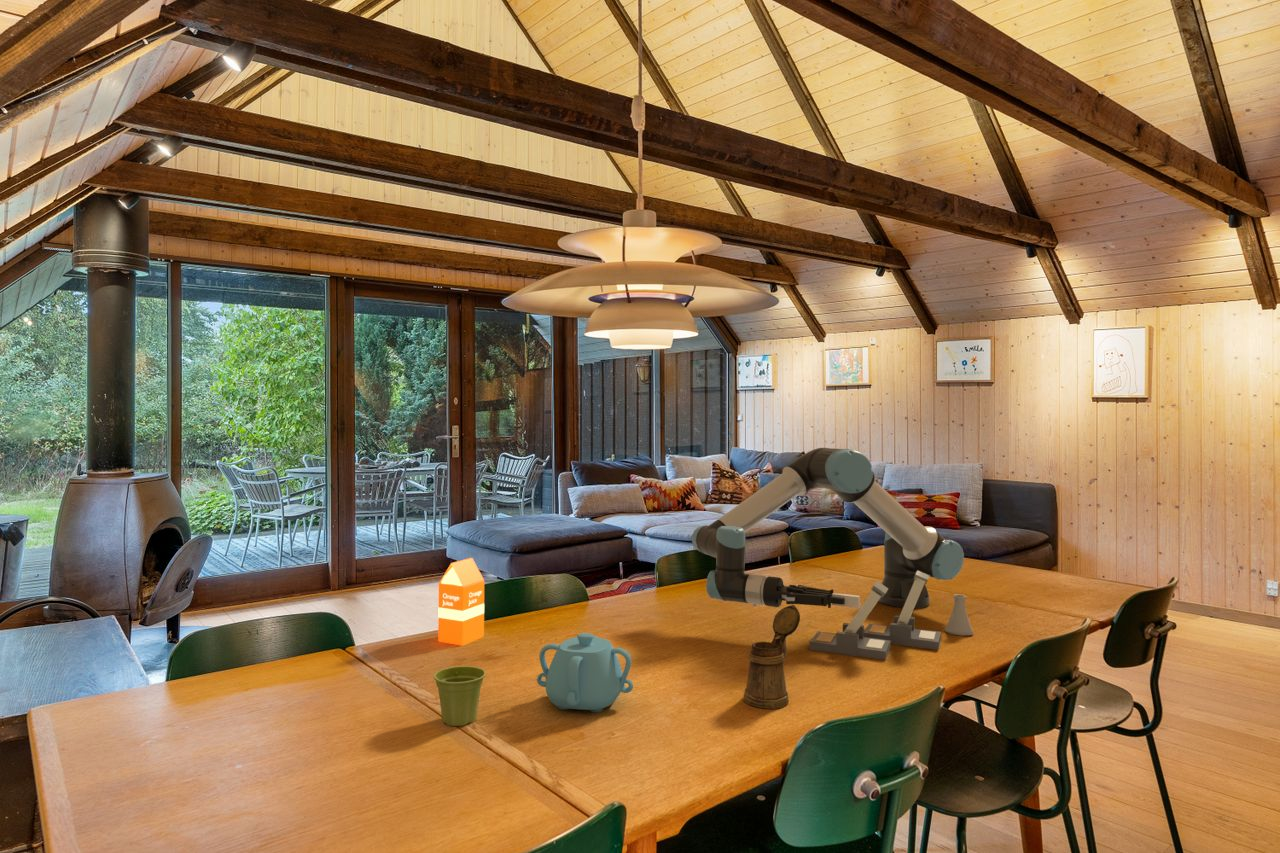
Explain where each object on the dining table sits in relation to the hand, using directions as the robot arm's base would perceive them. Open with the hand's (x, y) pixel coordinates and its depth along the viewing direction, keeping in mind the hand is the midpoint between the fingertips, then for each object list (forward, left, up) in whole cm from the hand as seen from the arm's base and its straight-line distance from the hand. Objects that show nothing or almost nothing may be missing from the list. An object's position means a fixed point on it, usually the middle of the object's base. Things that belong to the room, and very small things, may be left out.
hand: (859, 602), depth 187 cm
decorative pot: (+23, -70, -12) cm, 75 cm away
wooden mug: (+27, -32, -12) cm, 44 cm away
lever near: (-2, -2, -8) cm, 9 cm away
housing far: (-6, +16, -12) cm, 21 cm away
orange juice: (-25, -96, -12) cm, 100 cm away
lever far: (-7, +15, -9) cm, 19 cm away
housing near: (-1, -1, -12) cm, 12 cm away
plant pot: (+28, -94, -12) cm, 99 cm away
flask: (-10, +35, -12) cm, 38 cm away
